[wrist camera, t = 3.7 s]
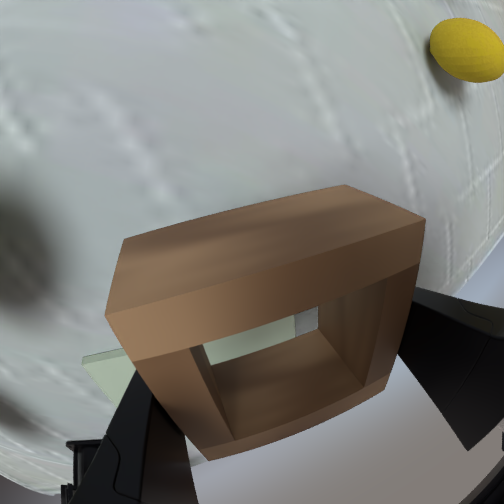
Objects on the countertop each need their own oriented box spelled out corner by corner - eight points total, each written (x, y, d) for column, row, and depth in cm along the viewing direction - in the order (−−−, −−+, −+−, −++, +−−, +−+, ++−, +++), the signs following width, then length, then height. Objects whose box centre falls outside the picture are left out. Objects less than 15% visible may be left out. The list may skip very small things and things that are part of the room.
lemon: (450, 50, 15) (519, 53, 8) (441, 92, 16) (518, 102, 10) (416, 11, 13) (491, 2, 6) (405, 52, 14) (492, 49, 7)
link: (190, 389, 10) (208, 461, 7) (124, 239, 7) (104, 315, 4) (340, 337, 12) (384, 390, 9) (344, 184, 9) (425, 218, 6)
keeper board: (141, 427, 22) (147, 473, 17) (82, 357, 16) (74, 414, 12) (295, 385, 25) (318, 426, 20) (289, 300, 20) (324, 348, 15)
